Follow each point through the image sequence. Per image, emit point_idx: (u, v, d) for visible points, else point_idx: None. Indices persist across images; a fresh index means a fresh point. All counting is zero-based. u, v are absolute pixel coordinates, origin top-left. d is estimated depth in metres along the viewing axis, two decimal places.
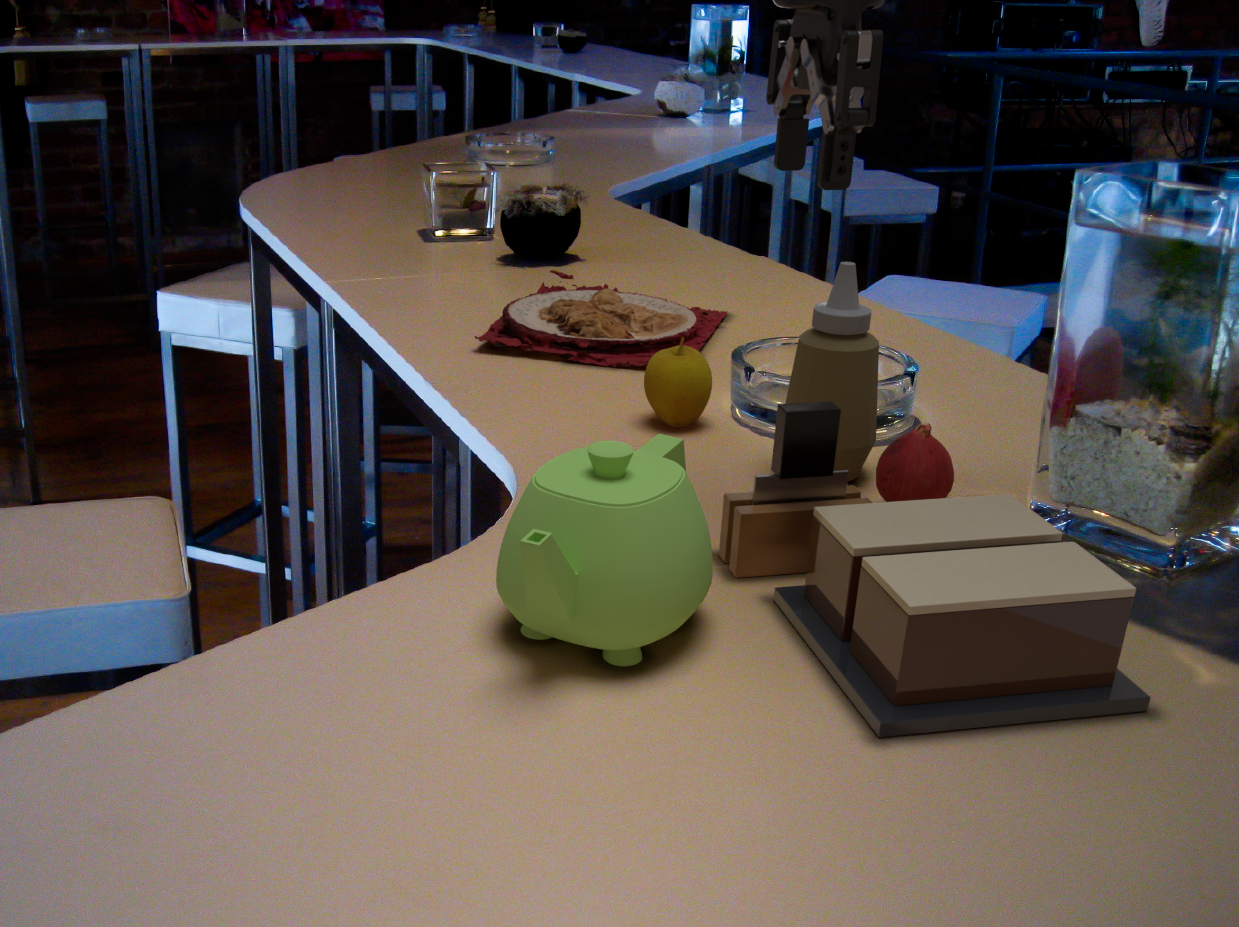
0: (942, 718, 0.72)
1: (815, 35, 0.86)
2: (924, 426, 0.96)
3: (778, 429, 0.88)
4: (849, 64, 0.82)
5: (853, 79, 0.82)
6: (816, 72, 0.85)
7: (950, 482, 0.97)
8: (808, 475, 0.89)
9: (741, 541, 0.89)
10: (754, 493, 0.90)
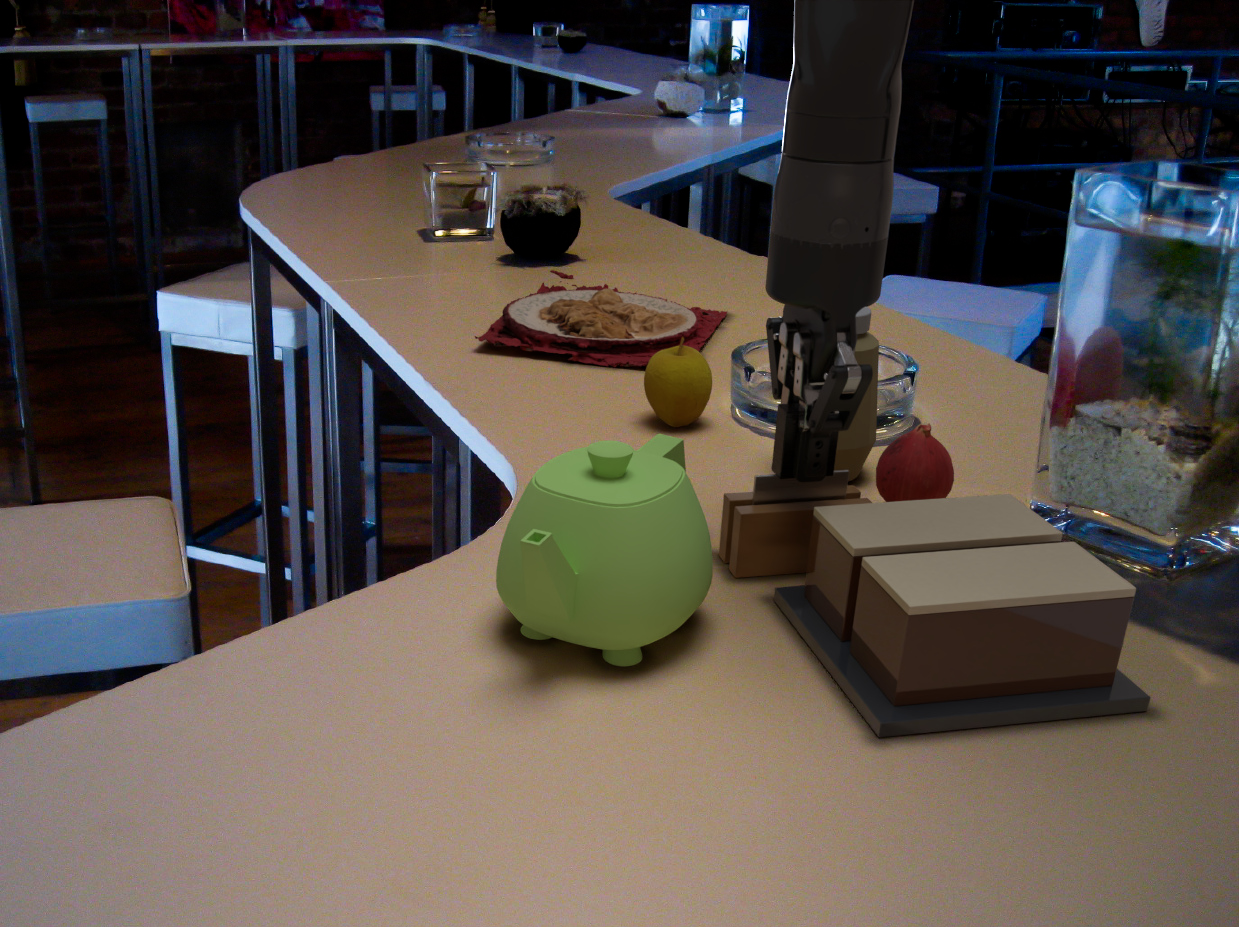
0: (942, 718, 0.72)
1: (809, 328, 0.84)
2: (924, 426, 0.96)
3: (778, 429, 0.88)
4: (832, 397, 0.81)
5: (833, 406, 0.82)
6: (803, 376, 0.84)
7: (950, 482, 0.97)
8: None
9: (741, 541, 0.89)
10: (754, 493, 0.90)
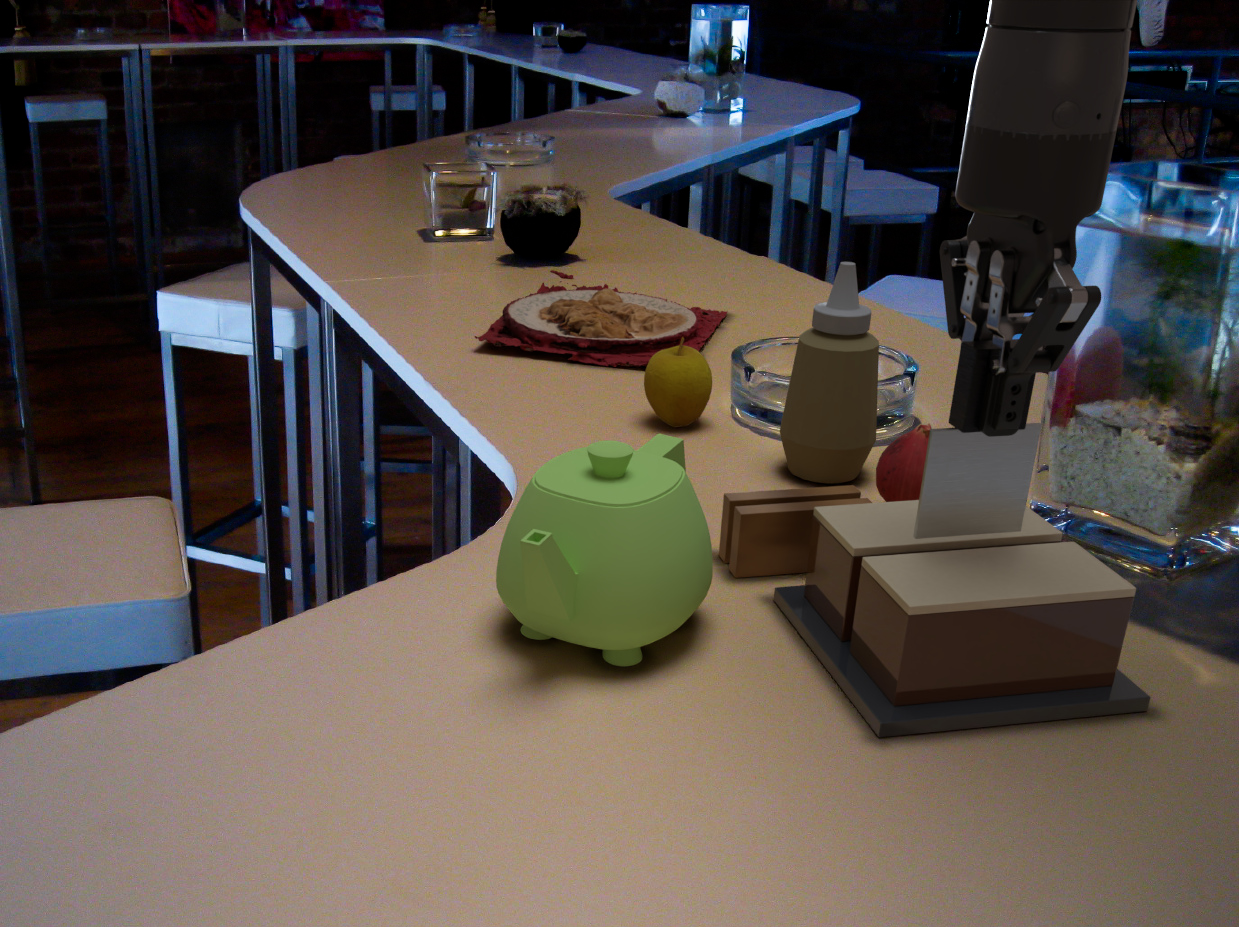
0: (942, 718, 0.72)
1: (1012, 245, 0.69)
2: (924, 426, 0.96)
3: (962, 372, 0.73)
4: (1048, 327, 0.66)
5: (1046, 339, 0.67)
6: (1002, 304, 0.69)
7: None
8: None
9: (741, 541, 0.89)
10: (929, 450, 0.74)
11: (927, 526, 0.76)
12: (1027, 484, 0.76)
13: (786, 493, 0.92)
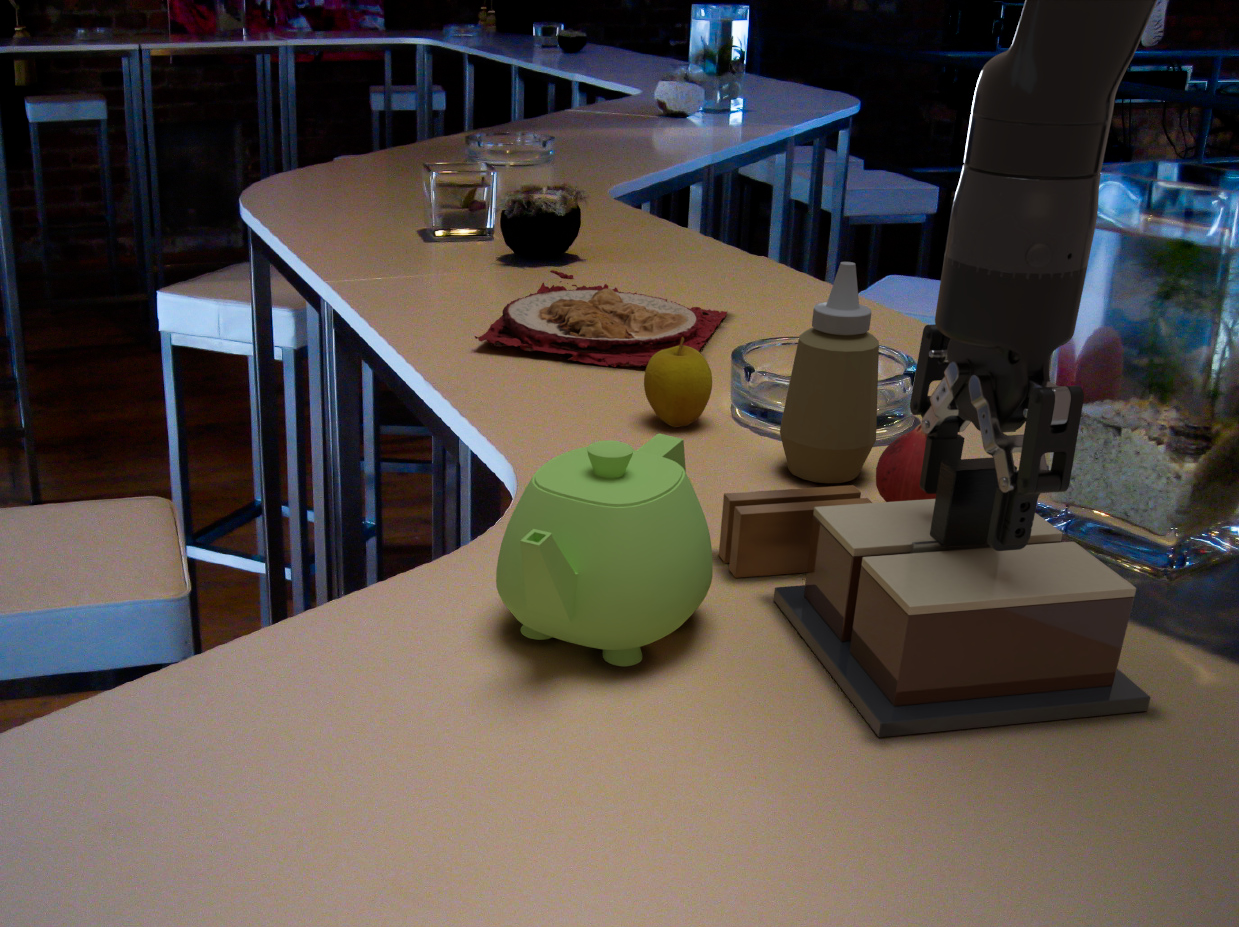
0: (942, 718, 0.72)
1: (989, 370, 0.72)
2: None
3: (942, 489, 0.76)
4: (1041, 428, 0.67)
5: (1045, 444, 0.68)
6: (992, 419, 0.71)
7: None
8: (975, 542, 0.77)
9: (741, 541, 0.89)
10: None
11: None
12: None
13: (786, 493, 0.92)
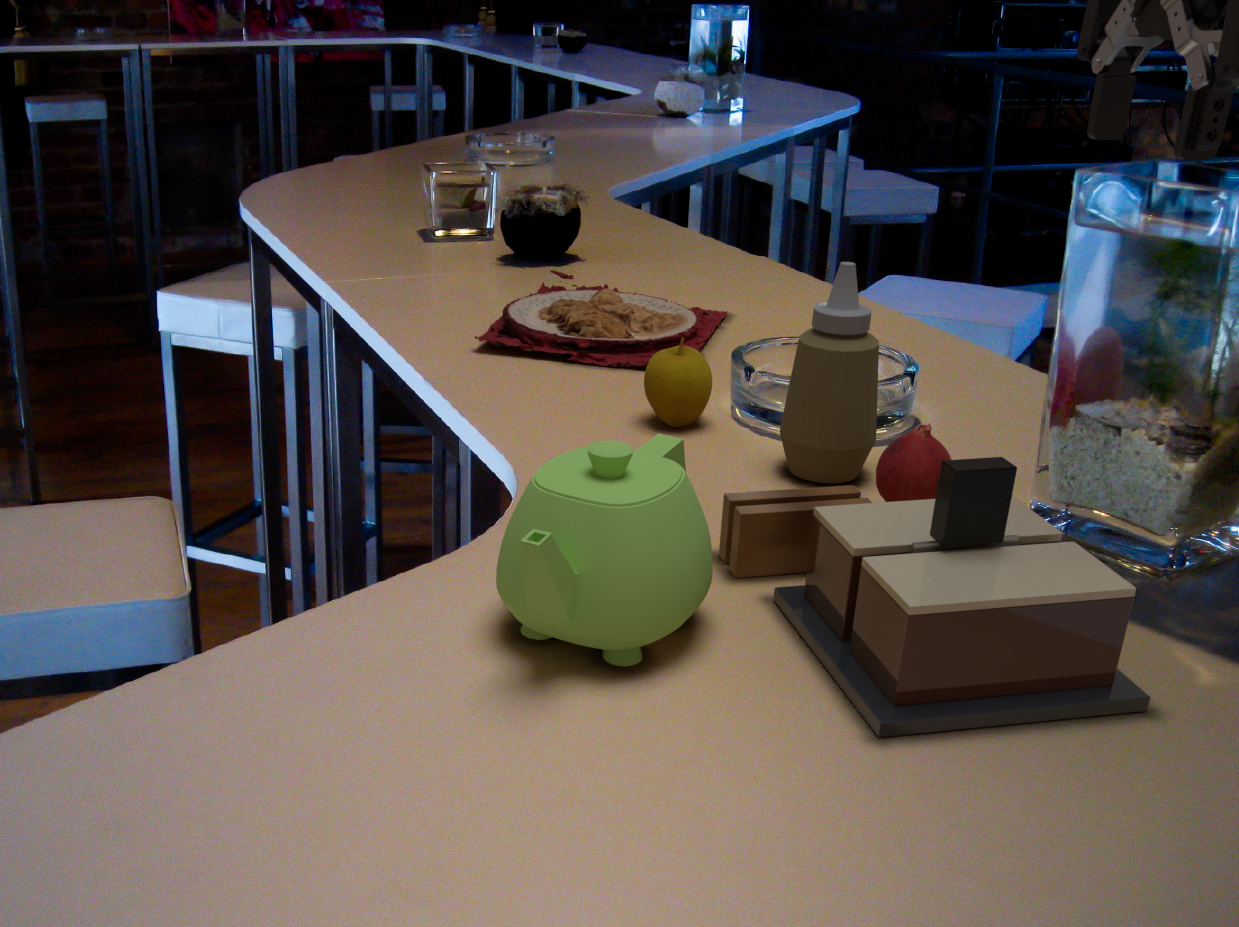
0: (942, 718, 0.72)
1: None
2: (924, 426, 0.96)
3: (942, 489, 0.76)
4: None
5: None
6: (1185, 14, 0.69)
7: None
8: (975, 542, 0.77)
9: (741, 541, 0.89)
10: None
11: None
12: None
13: (786, 493, 0.92)
